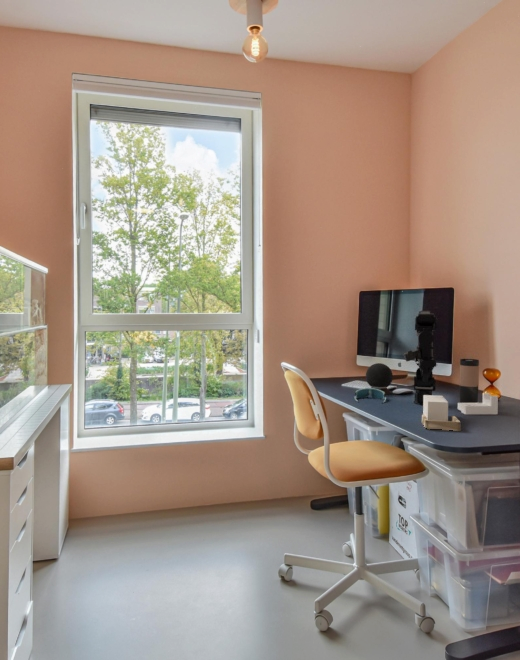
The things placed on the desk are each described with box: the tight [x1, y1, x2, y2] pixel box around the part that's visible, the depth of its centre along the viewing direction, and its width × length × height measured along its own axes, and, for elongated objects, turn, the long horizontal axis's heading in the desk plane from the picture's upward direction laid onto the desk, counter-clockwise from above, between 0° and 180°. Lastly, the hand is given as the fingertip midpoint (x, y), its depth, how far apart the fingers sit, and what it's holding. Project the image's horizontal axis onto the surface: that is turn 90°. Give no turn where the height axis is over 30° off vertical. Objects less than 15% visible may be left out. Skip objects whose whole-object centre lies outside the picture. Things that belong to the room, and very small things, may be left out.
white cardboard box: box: [422, 394, 449, 421], centre depth 179 cm, size 14×7×8 cm, turn 167°
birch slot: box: [421, 414, 462, 432], centre depth 167 cm, size 10×12×3 cm
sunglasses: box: [354, 387, 387, 404], centre depth 217 cm, size 14×15×5 cm
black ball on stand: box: [365, 362, 394, 395], centre depth 236 cm, size 13×13×15 cm
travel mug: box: [458, 358, 480, 403], centre depth 206 cm, size 8×8×20 cm
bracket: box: [457, 392, 499, 415], centre depth 191 cm, size 13×7×8 cm, turn 91°
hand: (424, 381), depth 194 cm, fingers open, 3 cm apart
